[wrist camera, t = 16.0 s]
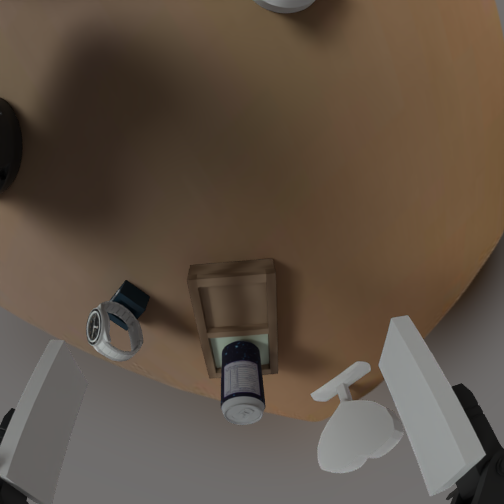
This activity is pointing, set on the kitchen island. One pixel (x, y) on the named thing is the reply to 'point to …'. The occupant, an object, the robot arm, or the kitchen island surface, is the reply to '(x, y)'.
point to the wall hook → (284, 5)
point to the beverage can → (242, 383)
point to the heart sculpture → (354, 425)
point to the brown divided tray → (235, 309)
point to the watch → (118, 321)
